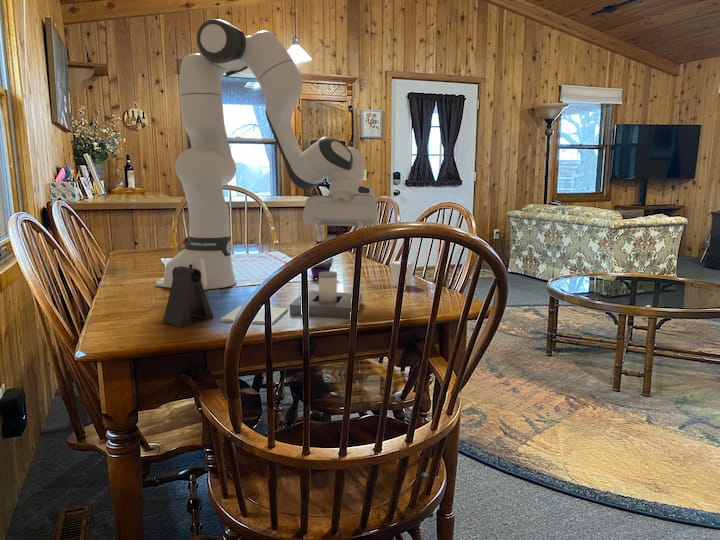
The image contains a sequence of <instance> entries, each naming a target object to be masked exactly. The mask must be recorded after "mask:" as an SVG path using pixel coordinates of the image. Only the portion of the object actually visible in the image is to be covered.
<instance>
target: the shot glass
mask: <svg viewBox="0 0 720 540" xmlns="http://www.w3.org/2000/svg"><path fill="white" fill-rule="evenodd" d="M401 261H402V260H393V261H391V262H390V268H391V284H392V286H393V287H395V288H396V287H397V284H398V278H399V273H400V262H401ZM407 261H408V260H407ZM414 263H415V262H413V261H408V267H407V277H406V286H408V285H412V278H413V273H414V272H413V271H414V265H415V264H414ZM406 286H405V287H404V288H407V287H406ZM397 288H398V287H397Z"/></svg>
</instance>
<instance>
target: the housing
mask: <svg viewBox="0 0 720 540" xmlns="http://www.w3.org/2000/svg"><path fill="white" fill-rule="evenodd" d="M308 291H309V316H308V317H316V318H317V317H322V318H334V319H335V318H336V319H350V312H351V298H352V293H353V292H340V291H339V292H338V291H337V303H335V302H319V290H308ZM362 304H363V293H360V298H359V308H360V307H361V306H362ZM360 305H361V306H360ZM289 316H301V294H300V295H298V296H297V298H296V299H295V298H294V300H293V301H292V302H291V303H289Z"/></svg>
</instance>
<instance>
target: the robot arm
mask: <svg viewBox="0 0 720 540" xmlns="http://www.w3.org/2000/svg"><path fill="white" fill-rule="evenodd" d="M196 43H197V47H198V50H199V52H198V53H197V52H196V53H195V52H194V53H190V54H188V55H186V56H184V57H183V58H182V60H181V62H180V63H181V64H180V69H179V95H180V96H179V97H180V107H181V117H182V125H183V128H184V130H185V131H186V133H187V135H188V137H189V141H190V146H191V148H187V149H186V150H184V151H182V152H180V153H179V154H178V156H177V157H176V159H175V163H174V171H175V174H176V176H177V179H179V180H180V183H181V185H182V187H183V189H182V190H183V191H184V195H185V200H186V203H187V208H188V220H189V221H188V222H189V224H188V225H189V236H186V237H185V238H184V239H181V241H182V242H181V245H183V244H184V249H182V250H181V251H180V252H179V253H177V254H175V256H174V257H173V258H171V259H170V260H169V261H168V262H166V264H165V267H164V270H163V271H164V272H163V277H161V278H159V279H157V280H156V282H155V286H156V287H161V288H169V289H171V286H172V282H173V276H172V271H173V269H174V268H175V267H179V266H181V267H187V268H193V269H198V270H199V271H200V272H201V283H202V286H203V289H204V291H205V290H210V289H220V288H228V287H232V286H234V285H236V284H237V279H236V277H235V272H234V269H233V263H232V249H233V248H232V247H233V245H232V236H231V235H230V209H229V207H228V205H227V203H226V199H225V196H224V192H223V186H225V185H227V184H228V183H230V182H231V181H232V180H233V178H234V177H235V175H236V173H237V164H236V161H235V160H234V158H233V155H232V152H231V151H232V150H231V146H230V142H229V138H228V135H227V132H226V126H225V116H224V106H223V104H224V103H223V94H222V93H223V92H222V79H223V77H226V78H227V77H230V76H233V75H234V74H237V73H242V72H244V71H245V70H247V69H248V68H249V70H250V71H251V73H252V74H253V76H254V77H255V79H256V81H257V82H258V84H259V86H260V88H261V90H262V94H263V97H264V98H263V99H264V101H265V110H264V111H265V117H266V120H267V122H268V126H269V128H270V130H271V132H272V135H273V138H274V140H275V142H276V144H277V145H276V146H278V149H279V152H280V154H281V157H282V159H283V161H284V165H285V168H286V172H287V175H288V179H289V181H290V182H291V183H292V184H293V185H294V186H295V187H296V188H298V189H301V190H305V191H312V190H313V189H315V188H316V187H317V186H318V185H319V184H321V183H322V182H323V181H324V180H325V179H327V178H328V179H329V180H330V183H329V189H328V194H327V195H316V194H314V195H312V196H309V197H308V198H306V200H305V205H304V208H303V212H302V219H303V222H304V223H305V225H308V226H315V229H316V232H315V233H316V236H317V237H318V238H319V237H323V236H324V229H323V227H322V226H336V227H337V226H338V227H339V226H340V227H356V228H352V230H357V229H360V228H363V227H364V228H368V227H367V226H372V225H376V226H377V225H378V223H379V213H378V212H379V211H378V204H377V200H376V191H375V190H374V189H373V188H371V187H367V186H363V185H362V183H363V180H364V174H365V161H364V156H363V154H362V153H361V152H360V150H359V149H356V148H355V147H354V146H353V147H352V146H347V145H345V144H344V143H343V142H342V141H340V140H338V139H336V137H335V138H334V137H332V136H327V135H326V136H322V137H321V138H320V139H318V140H316V141H315V142H313V143H312V144H311V145H310V146H309V147H308V148H306V149H305V150H304V151H302V149H301V147H300V145H299V142H298V139H297V137H296V134H295V132H294V129H293V127H292V117H293V113H294V109H295V108H296V106H297V104H298V102H299V100H300V97H301V96H302V92H303V88H304V87H303V84H304V83H303V78H302V75H301V73H300V71H299V68H298V66H297V65H296V64H295V61H294V60H293V59H292V57H291V55H290V53H289V52H288V51H287V49H286V48H285V46H284V44H282V42H281V41H280V40H279V39H278V38H277V36H276V35H275V34H274V33H273V32H271V31H268V30H260V31H256V32H255V33H253V34H251V35H245V33H244V31H243V30H241V29H239V28H238V27H236V26H234V25H233V24H231V23H230V22H228V21H226V20H222V19H219V18H218V19H215V18H213V19H209V20H206V21H204V22H203V23H202V24H201V25H200V26H199V28H198V30H197V34H196Z"/></svg>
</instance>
